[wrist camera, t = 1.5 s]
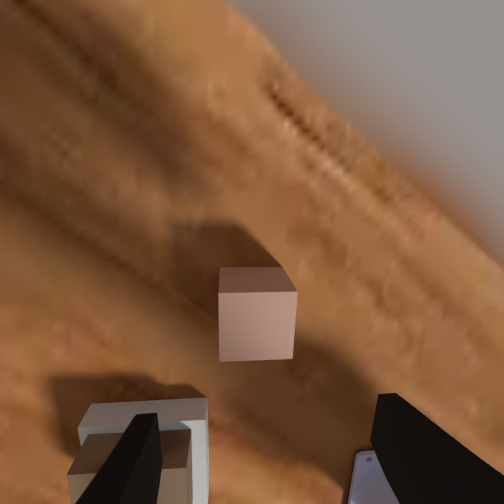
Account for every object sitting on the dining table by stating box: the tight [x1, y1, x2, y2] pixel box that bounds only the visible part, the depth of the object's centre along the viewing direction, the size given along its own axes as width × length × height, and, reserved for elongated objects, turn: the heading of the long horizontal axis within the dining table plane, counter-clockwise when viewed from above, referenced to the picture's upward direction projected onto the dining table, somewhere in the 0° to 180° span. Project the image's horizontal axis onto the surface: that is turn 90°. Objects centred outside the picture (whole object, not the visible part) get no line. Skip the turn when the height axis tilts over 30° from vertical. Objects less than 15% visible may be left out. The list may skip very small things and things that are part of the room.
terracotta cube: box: [218, 267, 297, 362], centre depth 16 cm, size 4×4×4 cm
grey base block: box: [78, 397, 209, 504], centre depth 20 cm, size 8×8×2 cm
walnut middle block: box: [67, 429, 193, 504], centre depth 18 cm, size 6×6×2 cm
